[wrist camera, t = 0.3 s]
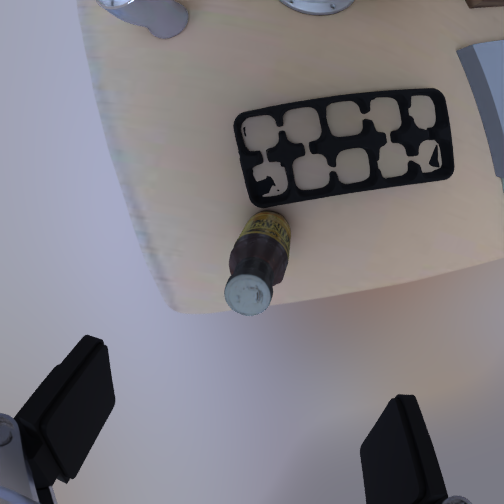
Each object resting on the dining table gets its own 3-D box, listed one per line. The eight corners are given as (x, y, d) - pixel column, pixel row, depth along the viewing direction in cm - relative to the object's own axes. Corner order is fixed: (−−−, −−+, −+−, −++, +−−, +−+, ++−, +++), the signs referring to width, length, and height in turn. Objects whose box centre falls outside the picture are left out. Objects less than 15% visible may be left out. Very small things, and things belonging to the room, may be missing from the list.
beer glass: (173, -8, 34) (129, -51, 20) (201, 18, 36) (164, -24, 22) (137, 23, 36) (82, -8, 22) (164, 50, 38) (113, 22, 24)
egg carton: (456, 168, 40) (469, 171, 36) (272, 239, 47) (270, 248, 43) (416, 54, 35) (426, 49, 31) (219, 125, 42) (213, 125, 38)
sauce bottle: (298, 222, 45) (306, 288, 26) (275, 258, 47) (267, 341, 29) (257, 198, 44) (236, 249, 26) (235, 236, 46) (202, 307, 28)
